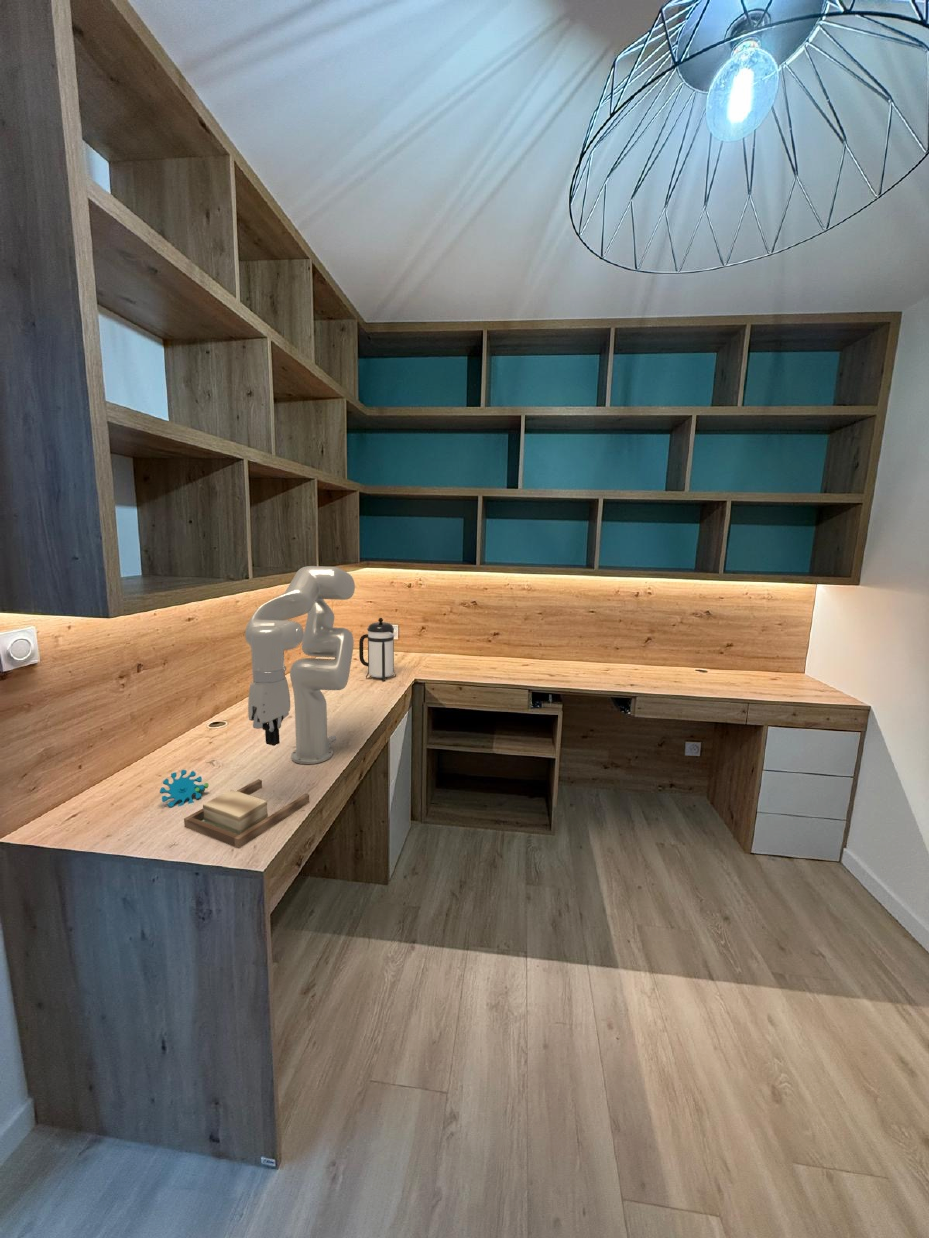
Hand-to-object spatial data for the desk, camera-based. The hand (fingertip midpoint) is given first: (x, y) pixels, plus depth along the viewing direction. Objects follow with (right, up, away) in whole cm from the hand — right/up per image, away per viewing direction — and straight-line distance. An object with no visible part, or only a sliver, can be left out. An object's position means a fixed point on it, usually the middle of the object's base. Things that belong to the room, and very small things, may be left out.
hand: (272, 743), depth 130 cm
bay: (-4, -17, -5) cm, 18 cm away
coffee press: (+7, +3, +119) cm, 120 cm away
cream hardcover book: (-5, -17, -9) cm, 20 cm away
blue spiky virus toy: (-23, -16, +2) cm, 28 cm away
